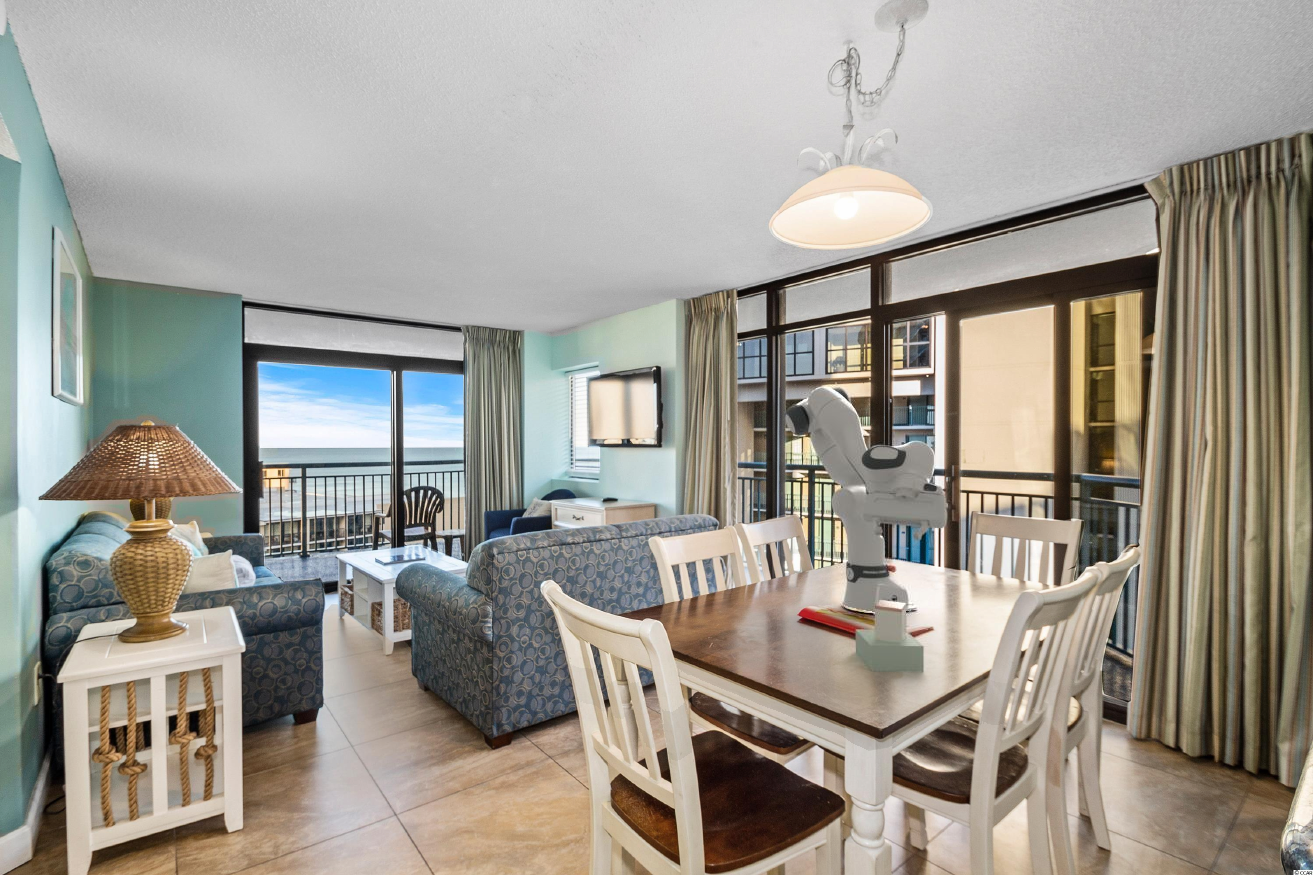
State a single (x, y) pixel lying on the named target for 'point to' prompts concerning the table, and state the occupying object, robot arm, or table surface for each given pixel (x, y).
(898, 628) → the white brown-topped block
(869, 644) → the green box
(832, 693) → the table surface
